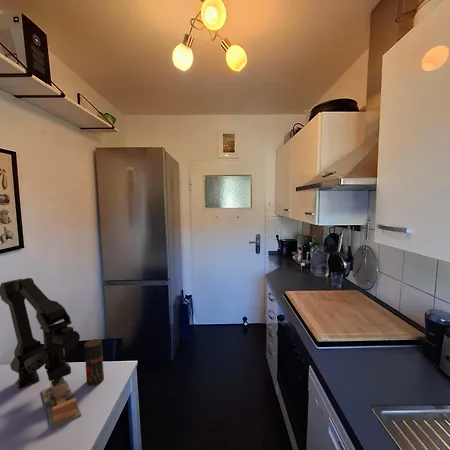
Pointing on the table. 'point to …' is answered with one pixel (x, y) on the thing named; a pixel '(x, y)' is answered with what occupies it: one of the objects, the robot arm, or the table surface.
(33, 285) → the robot arm
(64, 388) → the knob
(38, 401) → the table surface
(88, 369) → the deodorant
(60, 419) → the rail
